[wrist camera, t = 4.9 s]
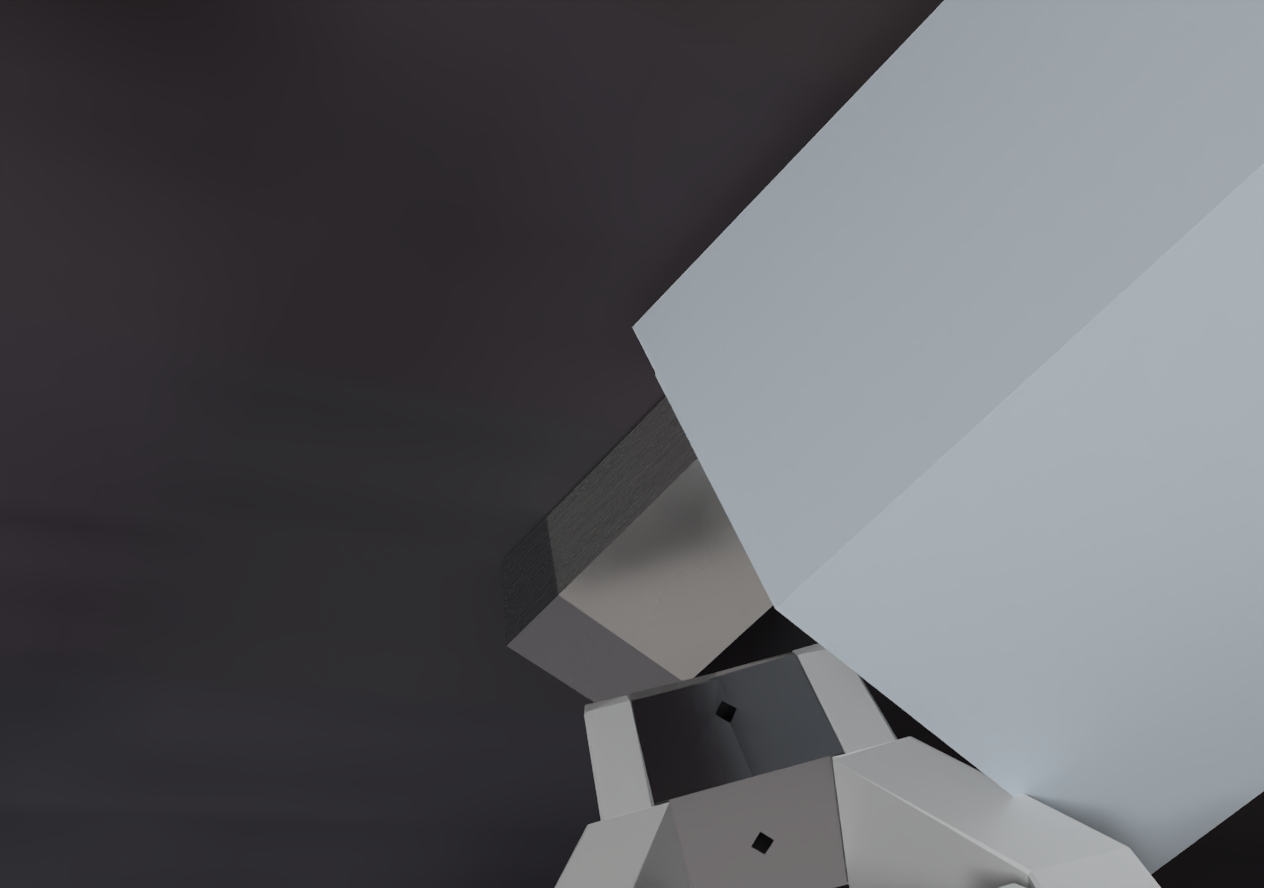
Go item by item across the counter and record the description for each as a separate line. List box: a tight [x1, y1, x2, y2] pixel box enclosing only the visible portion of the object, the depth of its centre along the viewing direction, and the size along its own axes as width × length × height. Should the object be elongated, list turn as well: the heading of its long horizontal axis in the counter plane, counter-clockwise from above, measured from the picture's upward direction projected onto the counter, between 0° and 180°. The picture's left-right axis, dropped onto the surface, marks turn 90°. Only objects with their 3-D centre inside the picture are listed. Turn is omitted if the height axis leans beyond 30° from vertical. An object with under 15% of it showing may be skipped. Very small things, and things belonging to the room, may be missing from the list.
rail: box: [502, 397, 773, 712], centre depth 11 cm, size 18×2×2 cm, turn 136°
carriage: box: [632, 0, 1264, 874], centre depth 9 cm, size 6×5×6 cm
